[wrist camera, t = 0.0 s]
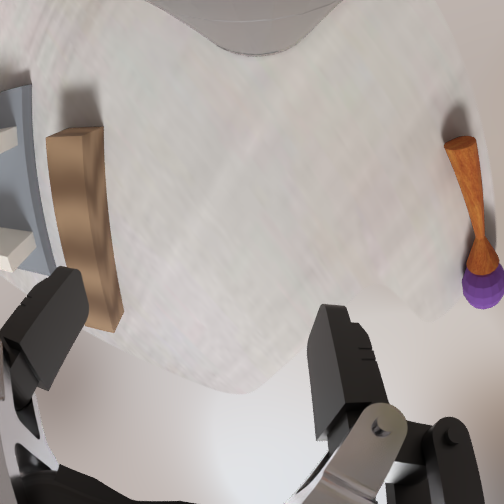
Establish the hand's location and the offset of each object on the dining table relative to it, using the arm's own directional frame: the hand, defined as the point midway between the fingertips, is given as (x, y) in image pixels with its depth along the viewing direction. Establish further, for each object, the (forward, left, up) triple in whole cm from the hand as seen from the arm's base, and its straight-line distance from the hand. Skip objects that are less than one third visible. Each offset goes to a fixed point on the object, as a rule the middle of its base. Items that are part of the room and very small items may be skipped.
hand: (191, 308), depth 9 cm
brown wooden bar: (+9, -14, -18) cm, 24 cm away
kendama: (+2, +25, -18) cm, 31 cm away
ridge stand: (+4, -29, -17) cm, 34 cm away
